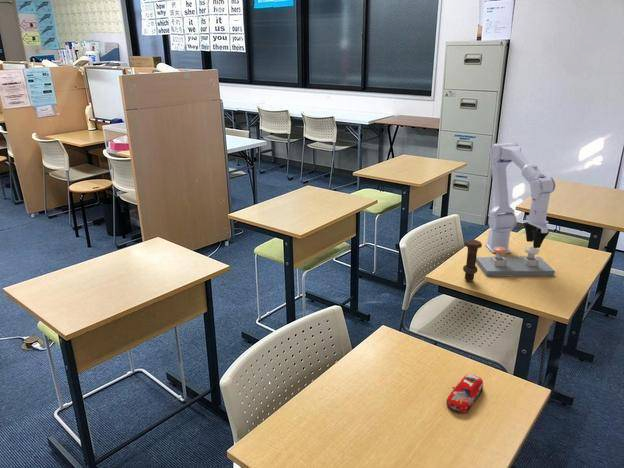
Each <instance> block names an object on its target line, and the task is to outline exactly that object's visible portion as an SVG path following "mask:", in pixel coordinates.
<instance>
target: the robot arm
mask: <svg viewBox="0 0 624 468" xmlns="http://www.w3.org/2000/svg"><path fill="white" fill-rule="evenodd" d="M489 159H490V165H491V174H492V175H491V176H492V184H493V185H492V186H493V198H494V207H493V208H492V209H491V210H490V211H489V212H488V213H489V215H488V221H487V222H488V227H489V230H488V236H487V237H488V238H487V243H484V245H485V247H487V249H488V250H489V251H490V252H491V253H492V254H495V253H494V252H493V250H494V247H504V248H506V249H507V253H508V254H509V253H510V254H511V253H512V251H511V249H510V248H509V243H510V237H511V231H513V229H514V228H515V227H516V225H517V221H518V219H517V216H516V214H515V209H513V208H512V207H511V206H510V205H509V203H510V202H509V193H508V179H507V167H508V165H509V164H511V163H514V165H516V167H518V168H519V169H520V170H521V175H522V177H523V178H524V179H525V180H526V181H527V182H528V184H529V189H530V192H531V193H530V197H531V203H530V208H529V214H528V215H525V221H526V222H523V227H524V229H525V239H526V242H531V243H532V242H533V243H532V244H533V245H532V247H534V248H538V249H540V248H541V246H542V244H543V242H544V240H545V238H546V237H547V236H548V235H549V234H550V230H549V227H548V226H547V224H549V221H548V220H547V214H548V210H549V203H550V198H551V193H553V192H554V191H555V190H556V181H555V180H554V178H553V177H552V176H548V175H545V174H544V173H543V172H542V170H540V169H539V168H538V165H537V164H533V163H530V162H529V161H528V160H527V158H526V157H525V156H524V154H523V152H522V147H521V146H520V145H519V143H517V142H509V143H494V144H492V146H491V148H490V150H489Z"/></svg>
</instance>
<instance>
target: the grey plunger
mask: <svg viewBox="0 0 624 468" xmlns="http://www.w3.org/2000/svg"><path fill="white" fill-rule="evenodd" d="M524 252H525V253H526V254H527V256H528V258H534V257H536V255H538V254H539V253H540V248H534V247H533V246H526V247H525V249H524Z"/></svg>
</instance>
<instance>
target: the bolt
mask: <svg viewBox="0 0 624 468" xmlns="http://www.w3.org/2000/svg"><path fill="white" fill-rule="evenodd" d="M464 246H465V247H466V248H467V255H466V262H465V263H466V264H464V265H463V267H462V270H463V272H464V280H465V281H466V282H473V281H474V279H475V274H477V273H478V269H479V268H478V267H477V263H476V257H478V256H477V254H478V251H479V250H478V249H480V248H482V246H483V245H482V242H481V241H479V240H477V239H467V240H466V241H464Z"/></svg>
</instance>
